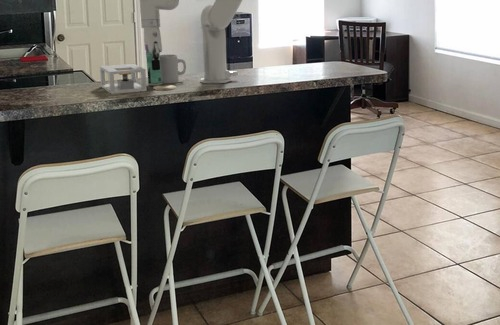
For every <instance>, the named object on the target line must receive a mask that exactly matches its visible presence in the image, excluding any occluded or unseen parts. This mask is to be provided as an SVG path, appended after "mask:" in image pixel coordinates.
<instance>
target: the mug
mask: <svg viewBox="0 0 500 325" xmlns="http://www.w3.org/2000/svg"><path fill="white" fill-rule="evenodd" d="M180 63H182V65H183V69H182V71H181V70H180V71H179V64H180ZM160 64H161V78H162V84H175V83H178V82H179V76H182V75H185V73H186V71H187V70H186V69H187V65H186V61H185V59H184V58H183V59H182V58H178V55H177V54H160Z"/></svg>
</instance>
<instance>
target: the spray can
mask: <svg viewBox="0 0 500 325" xmlns="http://www.w3.org/2000/svg"><path fill="white" fill-rule="evenodd" d="M145 42H146V41H145ZM145 46H146V50H145V57H146V71H147V72H146V73H147V80H148V81H147V82H148V86H153V87H154V86H159V85H162V84H163V83H162V78H161V64H160V70H152V61H151V60H152V55H151V53H150V52H149V50H148V45H147V42H146V43H145ZM145 46H144V47H145ZM158 49H159V48H158ZM152 50H153V49H152ZM153 52H155V51H153ZM153 55H154V54H153ZM160 55H161V52H160V51H159V60H160Z"/></svg>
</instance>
